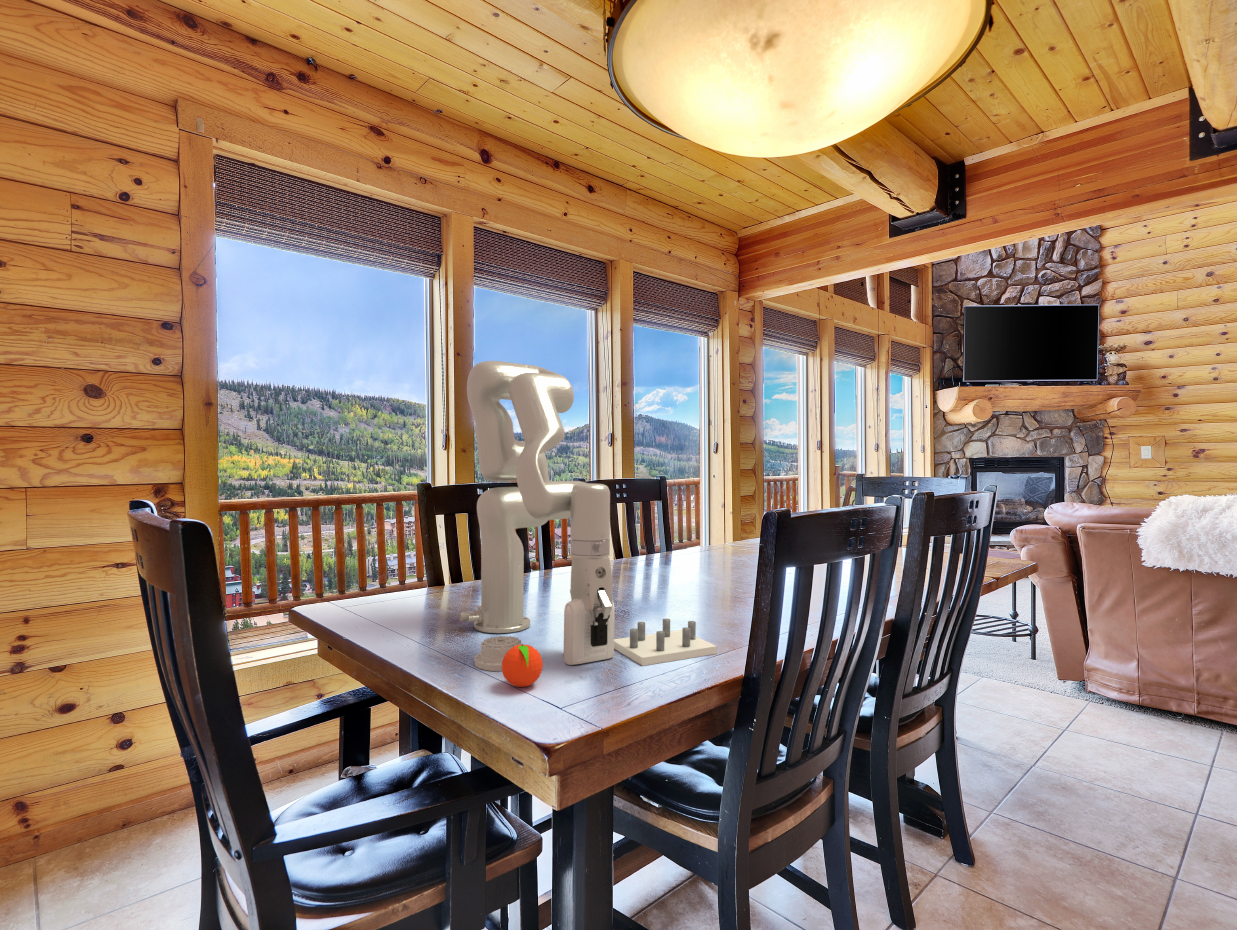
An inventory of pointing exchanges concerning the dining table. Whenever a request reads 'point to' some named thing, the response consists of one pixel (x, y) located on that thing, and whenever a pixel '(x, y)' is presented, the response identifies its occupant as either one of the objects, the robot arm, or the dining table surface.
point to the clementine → (522, 665)
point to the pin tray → (669, 647)
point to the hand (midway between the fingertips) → (589, 639)
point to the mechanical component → (494, 652)
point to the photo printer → (584, 635)
